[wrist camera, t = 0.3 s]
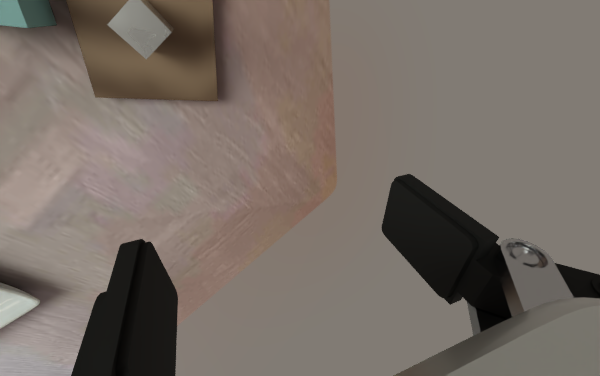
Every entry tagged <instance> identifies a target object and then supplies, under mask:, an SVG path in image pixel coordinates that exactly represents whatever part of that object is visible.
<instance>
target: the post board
mask: <svg viewBox="0 0 600 376" xmlns="http://www.w3.org/2000/svg"><path fill="white" fill-rule="evenodd" d="M66 2H67V5H68V8H69V12H70V15H71V18H72V21H73V25H74V28H75V31H76V35H77V38H78V41H79V45H80V48H81V51H82V54H83V58H84V61H85V64H86V68H87V71H88V74H89V78H90V81H91V84H92V87H93V91H94V94H95V97H101V98H134V99H167V100H201V101H218V97H217V78H216V59H215V40H214V21H213V2H212V0H66Z"/></svg>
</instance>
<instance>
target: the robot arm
mask: <svg viewBox="0 0 600 376" xmlns="http://www.w3.org/2000/svg"><path fill="white" fill-rule="evenodd" d="M382 232H383V233H384V235H385V236H386V237H387V239H388V240H389V241H390V242H391V243H392V244H393V245H394V246H395V247H396V249H397V250H398V251H399V252H400V253H401V254H402V255H403V256H404V257H405V259H407V261H408V262H409V263H410V264H411V265H412V266H413V268H414V269H415V270H416V271H417V272H418V273H419V274H420V275H421V277H422V278H423V279H424V280H425V281H426V282H427V283H428V284H429V285H430V287H431V288H432V289H433V290H434V291H435V292H436V293H437V294H438V295H439V296H440V297H442V298H444V299H445V300H446V301H447V302H448V303H449V304H452V303H455V302H457V301H459V300H461V299H462V297H464V299H465V300H466V301H467V304H468V309H469V315H470V320H471V324H472V330H473V336H472V337H470V338H468V339H466V340H465V341H462V342H460V343H458V344H456V345H454V346H452V347H450V348H448V349H446V350H444V351H442V352H440V353H438V354H436V355H434V356H432V357H430V358H428V359H426V360H424V361H422V362H420V363H418V364H416V365H414V366H412V367H410V368H408V369H406V370H404V371H402V372H400V373H398V374H396V375H394V376H600V275H599V274H594V273H591V272H587V271H583V270H579V269H575V268H572V267H568V266H564V265H560V264H556V263H554V261H553V260H552V258H551V257H550V256H549V255H548V254H547V253H546V252H545V251H544V250H543V249H541V248H539V247H538V246H536V245H534V244H532V243H529V242H527V241H524V240H520V239H513V238H511V239H506V240H504V241H502V242H501V244H500V246H499V245H498V244H497V243H496V241H497V240H498V238H499V237H498V236H497V235H495V234H494V233H493V232H491V231H490V230H488V229H487V228H486V227H484V226H483V225H481V224H480V223H479V222H477V221H476V220H474V219H473V218H472V217H470V216H469V215H467V214H466V213H465V212H463V211H462V210H460V209H459V208H458V207H456V206H455V205H453V204H452V203H451V202H449V201H448V200H446V199H445V198H443V197H442V196H441V195H439V194H438V193H436V192H435V191H434V190H432V189H431V188H429V187H428V186H427V185H425V184H424V183H422V182H421V181H420V180H418V179H417V178H415V177H414V176H413V175H411V174H407V175H403V176H398V177H396V178H395V179H394V181H393V182H392V184H391V188H390V193H389V198H388V202H387V206H386V210H385V215H384V219H383V224H382ZM177 307H178V297H177V292H176V289H175V287H174V285H173V283H172V281H171V279H170V277H169V275H168V273H167V271H166V269H165V268H164V266H163V264H162V262H161V260H160V258H159V256H158V254H157V252H156V250H155V248H154V246H153V244H152V243H151V242H146V243H145V241H144V240H143V239H140V240H135V241H131V242H127V243H123V244H121V245H120V247H119V251H118V254H117V258H116V261H115V265H114V268H113V271H112V275H111V278H110V282H109V285H108V288H107V291H106V292H103V293H100V294H99V296H98V297H97V299H96V301H95V303H94V306H93V309H92V313H91V316H90V319H89V322H88V325H87V328H86V331H85V334H84V337H83V341H82V344H81V347H80V350H79V353H78V356H77V359H76V362H75V365H74V368H73V372H72V375H71V376H175V366H176V335H177Z"/></svg>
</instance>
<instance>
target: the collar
mask: <svg viewBox="0 0 600 376" xmlns="http://www.w3.org/2000/svg"><path fill="white" fill-rule="evenodd" d="M0 25H4V26H13V27H23V28H33V27H43V26H53V25H57V24H56V21H55V18H54V15H53V12H52V9H51V6H50V3H49V0H0Z"/></svg>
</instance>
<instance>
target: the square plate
mask: <svg viewBox="0 0 600 376" xmlns="http://www.w3.org/2000/svg"><path fill="white" fill-rule="evenodd" d="M39 304H40V300H39V299H37V298H35V297H33V296H32V295H30V294H28V293H26V292H24V291H22V290H19V289H17V288H14V287H12V286H9V285H6V284H3V283H0V329H1V328H3V327H5V326H6V325H8V324H9V323H11V322H13V321H14V320H16V319H17V318H19V317H21V316H22V315H24V314H25V313H27V312H29V311H30V310H32V309H33V308H35V307H36V306H38V305H39Z"/></svg>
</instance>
